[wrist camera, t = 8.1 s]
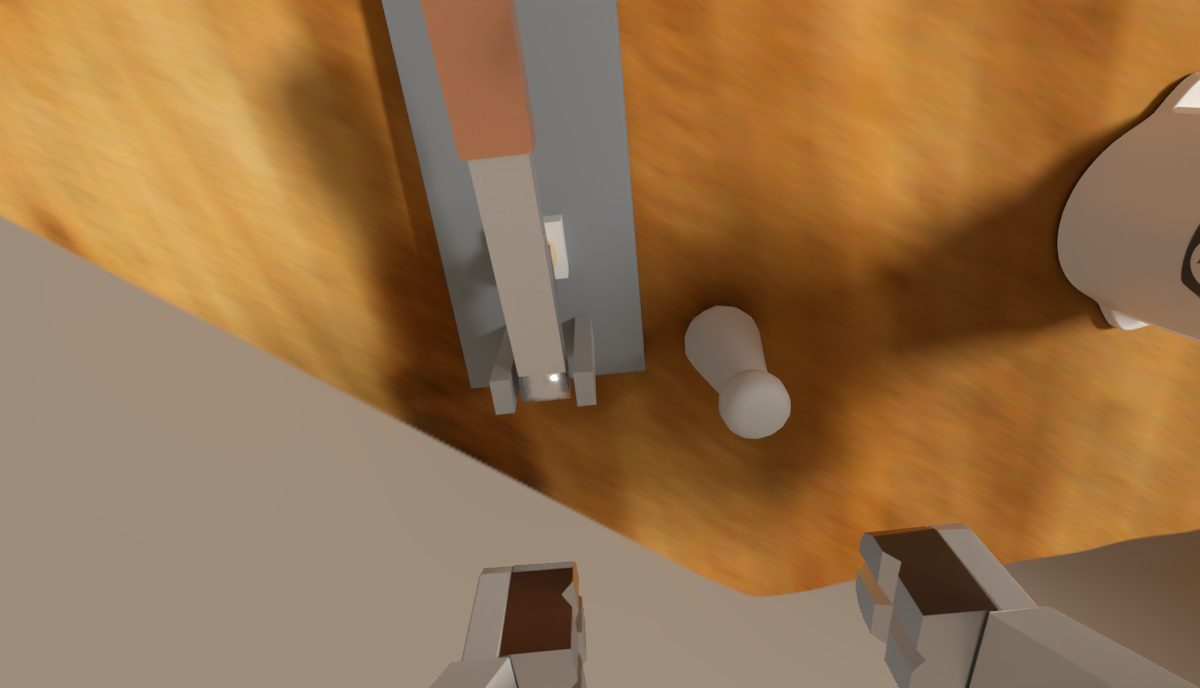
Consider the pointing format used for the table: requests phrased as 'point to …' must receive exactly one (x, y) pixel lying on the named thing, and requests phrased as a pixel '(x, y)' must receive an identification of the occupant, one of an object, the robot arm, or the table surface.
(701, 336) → the salt shaker
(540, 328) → the lever
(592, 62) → the base
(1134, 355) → the table surface
